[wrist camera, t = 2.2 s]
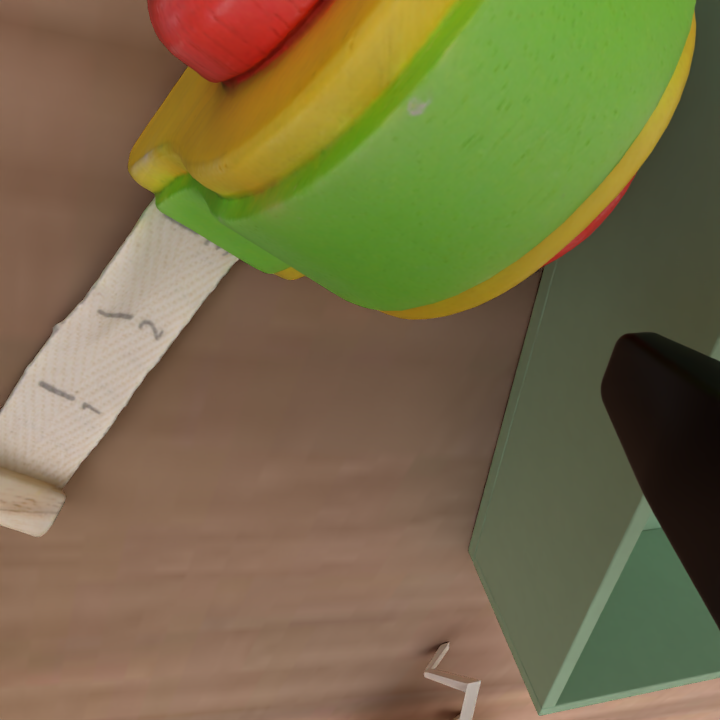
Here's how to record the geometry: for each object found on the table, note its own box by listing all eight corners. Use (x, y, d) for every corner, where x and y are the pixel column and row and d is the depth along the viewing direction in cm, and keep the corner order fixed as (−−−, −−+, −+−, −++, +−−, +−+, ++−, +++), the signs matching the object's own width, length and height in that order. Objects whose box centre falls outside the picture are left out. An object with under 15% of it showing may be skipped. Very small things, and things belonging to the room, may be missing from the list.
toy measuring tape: (728, -153, 12) (1171, -149, 6) (118, 525, 18) (100, 795, 13) (501, -603, 8) (1072, -1357, 3) (-153, 437, 15) (-324, 757, 9)
